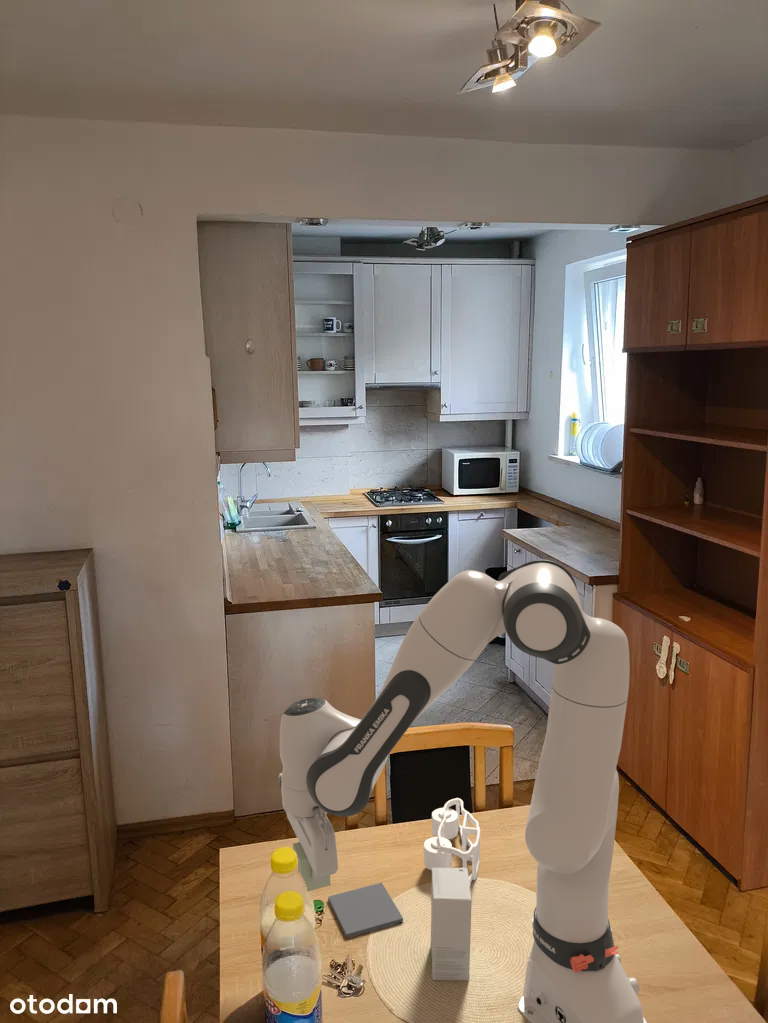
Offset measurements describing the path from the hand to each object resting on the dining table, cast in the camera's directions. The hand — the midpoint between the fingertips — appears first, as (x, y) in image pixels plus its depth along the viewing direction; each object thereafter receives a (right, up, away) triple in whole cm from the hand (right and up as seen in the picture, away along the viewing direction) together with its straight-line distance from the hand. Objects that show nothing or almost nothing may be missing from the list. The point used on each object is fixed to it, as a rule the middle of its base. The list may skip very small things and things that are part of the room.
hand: (311, 868), depth 130 cm
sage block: (0, -2, 0) cm, 2 cm away
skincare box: (+24, -17, 0) cm, 29 cm away
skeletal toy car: (+27, -12, +30) cm, 42 cm away
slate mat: (+9, -14, +13) cm, 21 cm away
